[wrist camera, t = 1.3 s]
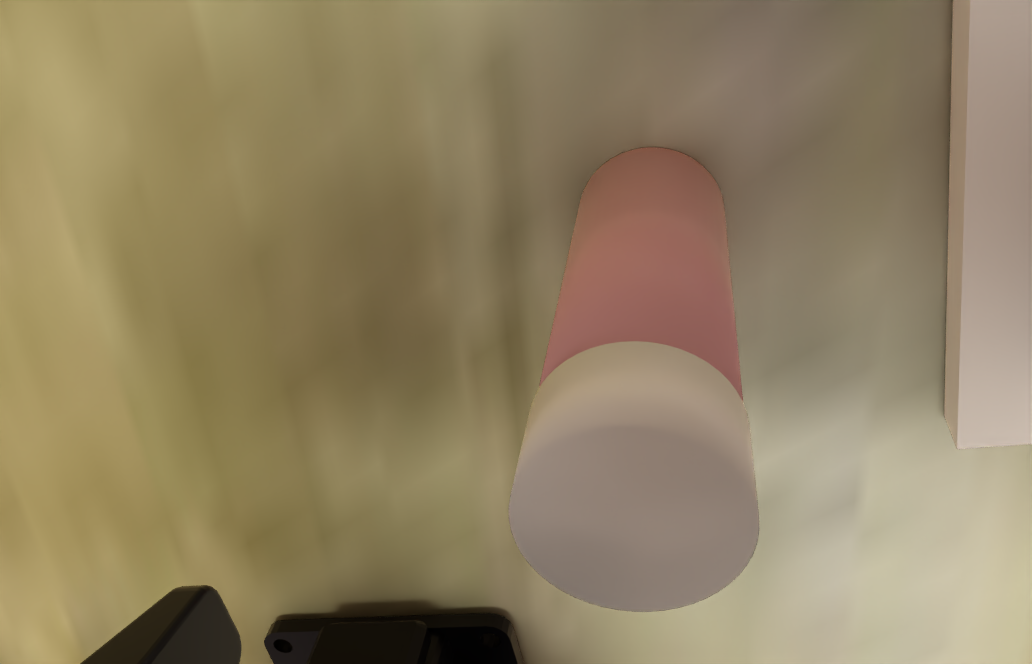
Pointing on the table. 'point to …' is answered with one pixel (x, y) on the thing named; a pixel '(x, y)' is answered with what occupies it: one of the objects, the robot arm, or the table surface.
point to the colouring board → (990, 226)
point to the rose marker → (641, 400)
